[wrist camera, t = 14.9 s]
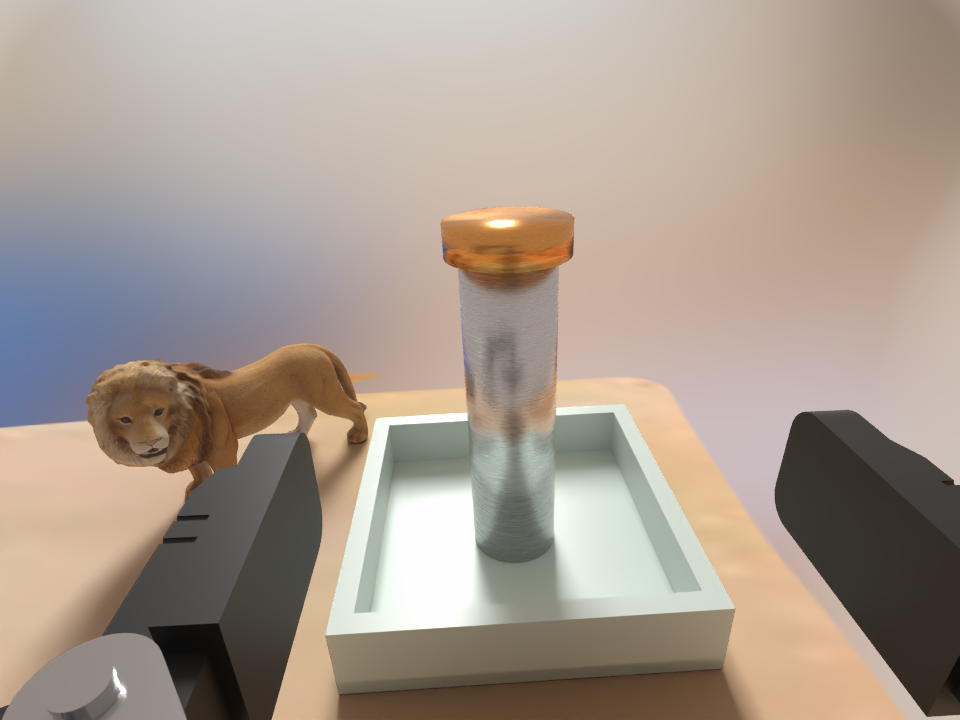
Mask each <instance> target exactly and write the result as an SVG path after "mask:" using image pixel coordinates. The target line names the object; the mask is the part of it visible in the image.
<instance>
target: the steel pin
mask: <svg viewBox="0 0 960 720" xmlns="http://www.w3.org/2000/svg"><path fill="white" fill-rule="evenodd" d="M441 235H442V248H443V259H444V261H445V262H446V263H447V264H449V265H451V266H453V267H456V268H458V277H459V291H460V292H459V293H460V308H461V324H462V340H463V355H464V372H465V388H466V404H467V420H468V436H469V452H470V468H471V484H472V500H473V516H474V532H475V540H476V543H477V545H478V547H479V548H480V550H481V551H482V552H483V553H485V554H486V555H487V556H489V557H491V558H492V559H495V560H497V561H501V562H505V563H524V562H529V561H532V560H534V559H537V558H539V557H540V556H542V555H543V554H544V553H546V552H547V551H548V549H549V548H550V547H551V545H552V543H553V539H554V504H555V447H556V390H557V334H558V332H557V331H558V277H559V265H561V264H563V263H565V262H567V261H568V260H569V259H571V258H572V256H573V243H574V217H573V216H572V215H571V214H569V213H567V212H564V211H560V210H555V209H549V208H541V207H518V206H516V207H493V208H483V209H477V210H470V211H465V212H461V213H457V214H454V215H451V216H448V217H446V218H445V219H443V220H442V221H441Z"/></svg>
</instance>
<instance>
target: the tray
mask: <svg viewBox="0 0 960 720" xmlns="http://www.w3.org/2000/svg"><path fill="white" fill-rule="evenodd" d="M734 613H735V607H734V605H733V603H732V601H731V599H730V598H729V596H728V594H727V592H726V590H725V588H724V587H723V585H722V583H721V581H720V579H719V577H718V575H717V574H716V572H715V570H714V568H713V566H712V564H711V563H710V561H709V559H708V557H707V555H706V553H705V551H704V550H703V548H702V546H701V544H700V542H699V540H698V539H697V537H696V535H695V533H694V531H693V529H692V528H691V526H690V524H689V522H688V520H687V518H686V516H685V515H684V513H683V511H682V509H681V507H680V505H679V504H678V502H677V500H676V498H675V496H674V494H673V492H672V491H671V489H670V487H669V485H668V483H667V481H666V480H665V478H664V476H663V474H662V472H661V470H660V468H659V467H658V465H657V463H656V461H655V459H654V457H653V456H652V454H651V452H650V450H649V448H648V446H647V445H646V443H645V441H644V439H643V437H642V435H641V433H640V432H639V430H638V428H637V426H636V424H635V422H634V421H633V419H632V417H631V415H630V413H629V411H628V409H627V408H626V406H625V404H613V405H596V406H579V407H561V408H556V447H555V504H554V539H553V543H552V545H551V547H550V548H549V549H548V551H547V552H546V553H544V554H543V555H542V556H540V557H539V558H537V559H534V560H532V561H529V562H524V563H505V562H501V561H497V560H495V559H492V558H491V557H489V556H487V555H486V554H485V553H483V552H482V551H481V550H480V548H479V547H478V545H477V543H476V540H475V532H474V516H473V500H472V484H471V468H470V452H469V436H468V420H467V413H458V414H440V415H423V416H406V417H389V418H376V421H375V426H374V430H373V434H372V438H371V443H370V447H369V451H368V455H367V460H366V464H365V468H364V473H363V477H362V481H361V485H360V490H359V494H358V498H357V502H356V507H355V511H354V515H353V519H352V524H351V528H350V532H349V536H348V541H347V545H346V549H345V554H344V558H343V562H342V566H341V571H340V575H339V579H338V583H337V588H336V592H335V596H334V600H333V605H332V609H331V613H330V618H329V622H328V626H327V630H326V635H325V636H326V641H327V645H328V649H329V654H330V658H331V662H332V666H333V671H334V675H335V679H336V684H337V688H338V692H339V694H353V693H367V692H382V691H397V690H412V689H427V688H442V687H456V686H471V685H486V684H501V683H516V682H531V681H545V680H560V679H575V678H590V677H605V676H620V675H634V674H649V673H664V672H679V671H694V670H709V669H723V664H724V660H725V655H726V650H727V646H728V641H729V636H730V632H731V627H732V622H733V618H734Z"/></svg>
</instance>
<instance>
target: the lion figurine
mask: <svg viewBox="0 0 960 720" xmlns="http://www.w3.org/2000/svg"><path fill="white" fill-rule="evenodd" d="M338 380H339V381H338ZM339 382H340V383H339ZM340 384H341V385H340ZM341 386H342V388H343V389H342V388H341ZM343 390H344V391H343ZM86 403H87V404H88V408H89V410H88V422H89V423H90V424H91V425H92V426H93V429H94V433H95V436H96V439H97V441H98V444H99V447H100V448H101V449H102V450H103V452H104V453H105V454H106V455H107V456H108V457H109V458H111V459H112V460H114V461H115V462H116V463H117V464H123V465H126V466H131V467H147V466H154V467H158V468H160V469H161V470H163V471H165V472H167V473H176V472H180V471H184V470H187V469H189V471H190V472H191V474H192V475H193V478H194V481H192V482H190V483H189V485H188V486H187V488H186V496H187V497H189V496H190V495H191V493H192V491H193V490H194V489H195V488H197V487H198V486H199V485H200V484H201V483H203V482H204V481H205V480H206V479H207V478H209V477H210V476H211V475H212V474H213V472H212V470H213V471H214V473H215V472H216V471H217V470H218V469H220V468H229V467H237V450H238V440H237V439H240V438H243V437H246V436H249V435H251V434H254V433H256V432H259V431H261V430H263V429H265V428H266V427H268V426H270V425H271V424H273V423H274V422H275V421H276V420H277V419H278V418H279V417H281V416H282V415H283V414H284V412H285V411H286V410H287V408H288V407H289V405H290V404H291V405H292V406H293V407H294V408H295V410H296V411H297V413H298V416H299V423H298V426H297V427H296V429H295V430H292V431H289V432H288V433H305V434H306V436H307V434H308V432H309V430H310V428H311V426H312V424H313V422H314V420H315V419H316V417H317V413H316V410H315V408H316V409H318V410H320V411H322V412H324V413H326V414H328V415H333V416H337V417H341V418H346V419H349V420H351V421H353V422H354V427H353V428H351V429H350V430H349V431H348V433H347V439H348V441H350V442H353V443H360V442H362V441H364V440H365V439H366V438H367V436H368V426H367V422H366V419H365V416H364V411H365V409H366V405H364V404H363V403H360V402H357V399H356V395H355V391H354V388H353V385H352V383H351V380H350V377H349V375H348V373H347V371H346V369H345V367H344V365H343V364H342V363H341V361H340V360H339V358H338V357H337V356H336V355H335V354H334V353H333V352H331V351H330V350H328V349H326V348H324V347H322V346H319V345H315V344H308V343H306V344H296V345H288V346H284V347H281V348H279V349H278V350H276V351H274V352H272V353H271V354H269V355H268V356H266V357H264V358H262V359H260V360H259V361H257V362H254V363H252V364H250V365H248V366H245V367H243V368H240V369H237V370H234V371H231V372H229V371H219V370H214V369H211V368H210V367H208V366H205V365H202V364H199V363H195V362H188V363H171V364H169V363H166V362H164V361H162V360H160V359H156V360H141V361H130V362H128V363H127V364H124V365H116V366H115V367H114V368H113V369H110V370H106V371H104V372H102V373H101V374H100V376H99V377H98V378H97V380H96V381H95V383H94V385H93V386H92V390H91V393H90V395H89V396H87V398H86ZM314 407H315V408H314ZM210 467H211V468H212V470H211V468H210Z"/></svg>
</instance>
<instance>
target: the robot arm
mask: <svg viewBox="0 0 960 720" xmlns="http://www.w3.org/2000/svg"><path fill="white" fill-rule="evenodd" d="M775 504H776V509H777V512H778V515H779V517H780V520H781V522H782V523H783V525H784V527H785V528H786V529H787V531H788V532H789V533H790V535H791V536H792V537H793V539H794V540H795V541H796V543H797V544H798V545H799V547H800V548H801V549H802V551H803V552H804V553H805V555H806V556H807V557H808V559H809V560H810V561H811V563H812V564H813V565H814V567H815V568H816V569H817V571H818V572H819V573H820V575H821V576H822V577H823V579H824V580H825V581H826V583H827V584H828V585H829V587H830V588H831V590H832V591H833V592H834V594H835V595H836V596H837V597H838V599H839V600H840V602H842V604H843V606H844V607H845V608H846V609H847V611H848V612H849V614H850V615H851V616H852V618H853V619H854V620H855V622H856V623H857V624H858V626H859V627H860V628H861V630H862V631H863V632H864V634H865V635H866V636H867V637H868V639H869V640H870V641H871V643H872V644H873V646H874V647H875V648H876V650H877V651H878V652H879V654H880V655H881V656H882V658H883V659H884V660H885V661H886V663H887V664H888V665H889V667H890V668H891V670H892V671H893V672H894V674H895V675H896V676H897V678H898V679H899V680H900V682H901V683H902V684H903V686H904V687H905V688H906V690H907V691H908V692H909V694H910V695H911V696H912V698H913V699H914V700H915V702H916V703H917V704H918V706H919V707H920V708H921V710H922V711H923V712H924V714H925V715H926V716H927V717H931V716H947V715H960V485H954V480H953V479H951V478H950V477H949V476H948V475H946V474H945V473H944V472H943V471H941V470H940V469H939V468H937V467H936V466H935V465H934V464H932V463H931V462H930V461H929V460H928V459H926V458H925V457H923V456H921V455H919V454H917V453H915V452H913V451H911V450H909V449H907V448H905V447H903V446H901V445H899V444H897V443H895V442H893V441H891V440H890V439H889V438H887V437H886V436H885V435H884V434H882V433H881V432H880V431H879V430H878V429H876V428H875V427H874V426H873V425H872V424H870V423H869V422H868V421H867V420H865V419H864V418H863V417H862V416H861V415H859V414H858V413H856V412H854V411H850V410H839V411H838V410H837V411H815V412H802V413H800V414H798V415H797V416H796V417H795V419H794V421H793V423H792V426H791V429H790V433H789V437H788V440H787V444H786V449H785V452H784V456H783V460H782V463H781V467H780V471H779V475H778V478H777V482H776V487H775ZM321 536H322V509H321V503H320V498H319V492H318V487H317V482H316V476H315V471H314V466H313V460H312V455H311V450H310V445H309V441H308V438H307V436H306V434H305V433H283V434H260V435H255V436H254V437H253V438H252V440H251V441H250V443H249V445H248V447H247V448H246V450H245V452H244V454H243V456H242V457H241V459H240V461H239V463H238V465H237V467H229V468H220V469H218V470H217V471H216V472H215V473H214V474H212V475H211V476H210V477H209V478H207V479H206V480H205V481H204V482H203V483H201V484H200V485H199V486H198V487H197V488H195V489H194V490H193V491H192V493H191V495H190V496H189V498H188V499H187V501H186V503H185V504H184V506H183V507H182V509H181V511H180V512H179V514H178V515H177V521H174V522H173V523H172V525H171V526H170V528H169V530H168V531H167V533H166V534H165V536H164V538H163V544H159V546H158V547H157V549H156V550H155V552H154V554H153V555H152V557H151V558H150V560H149V562H148V563H147V565H146V566H145V568H144V570H143V571H142V573H141V574H140V576H139V578H138V579H137V581H136V582H135V584H134V586H133V587H132V589H131V590H130V592H129V594H128V595H127V597H126V598H125V600H124V602H123V603H122V605H121V606H120V608H119V609H118V611H117V613H116V614H115V616H114V617H113V619H112V621H111V622H110V624H109V625H108V627H107V629H106V630H105V632H104V633H103V635H102V636H101V637H98V638H95V639H92V640H89V641H87V642H85V643H82V644H80V645H78V646H76V647H74V648H72V649H70V650H68V651H67V652H65V653H63V654H61V655H60V656H58V657H57V658H55V659H54V660H52V661H51V662H49V663H48V664H47V665H46V666H44V667H43V668H42V669H41V670H40V671H38V672H37V673H36V674H35V675H34V676H33V677H32V678H31V679H30V680H29V681H28V682H27V683H26V684H25V685H24V686H23V687H22V688H21V690H20V691H19V692H18V693H17V694H16V696H15V697H14V699H13V700H12V702H11V703H10V705H7V706H5V707H2V708H0V720H271V719H272V716H273V712H274V709H275V705H276V701H277V698H278V694H279V691H280V687H281V684H282V680H283V676H284V673H285V669H286V666H287V662H288V659H289V655H290V651H291V648H292V644H293V641H294V637H295V634H296V630H297V626H298V623H299V619H300V616H301V612H302V608H303V605H304V601H305V598H306V594H307V591H308V587H309V583H310V580H311V576H312V573H313V569H314V566H315V562H316V558H317V555H318V551H319V547H320V543H321Z"/></svg>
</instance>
